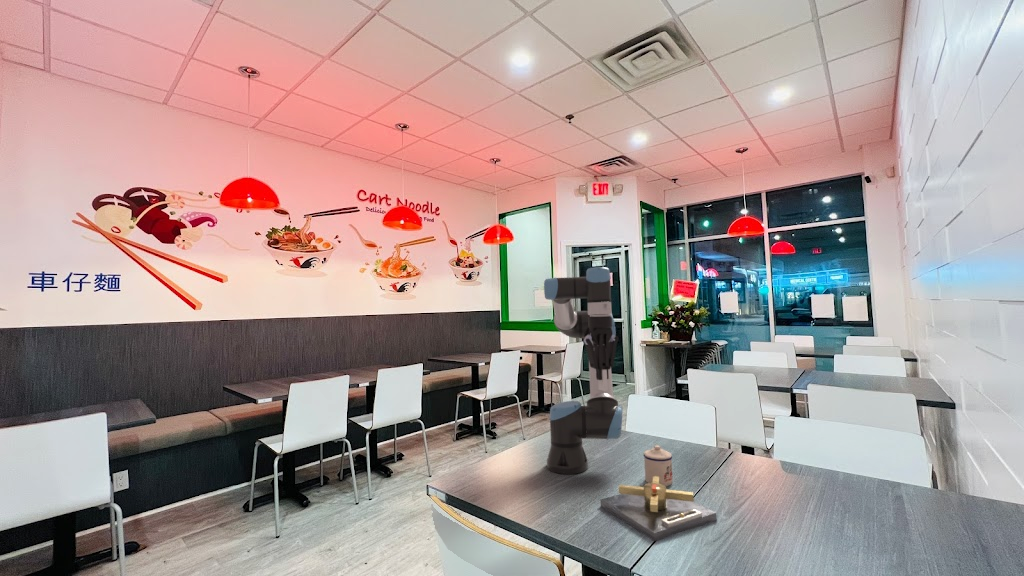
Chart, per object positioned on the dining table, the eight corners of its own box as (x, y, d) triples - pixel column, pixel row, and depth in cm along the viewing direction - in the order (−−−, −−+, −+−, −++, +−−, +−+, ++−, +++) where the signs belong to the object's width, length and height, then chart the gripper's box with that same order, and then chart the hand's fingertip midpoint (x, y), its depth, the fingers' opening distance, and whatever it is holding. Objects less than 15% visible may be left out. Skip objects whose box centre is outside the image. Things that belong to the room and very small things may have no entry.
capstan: (623, 487, 135) (622, 468, 136) (692, 494, 128) (691, 474, 129) (615, 516, 116) (614, 494, 117) (696, 527, 110) (694, 503, 110)
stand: (600, 506, 127) (600, 493, 128) (657, 490, 137) (656, 478, 137) (654, 541, 108) (654, 526, 108) (716, 520, 117) (715, 506, 117)
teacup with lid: (670, 489, 138) (668, 452, 138) (641, 484, 143) (640, 448, 143) (677, 476, 148) (675, 441, 149) (650, 471, 153) (648, 438, 153)
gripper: (590, 316, 133) (593, 394, 131) (623, 315, 138) (627, 389, 137) (576, 316, 139) (579, 390, 138) (608, 315, 145) (611, 386, 144)
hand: (603, 389), depth 138 cm, fingers closed
